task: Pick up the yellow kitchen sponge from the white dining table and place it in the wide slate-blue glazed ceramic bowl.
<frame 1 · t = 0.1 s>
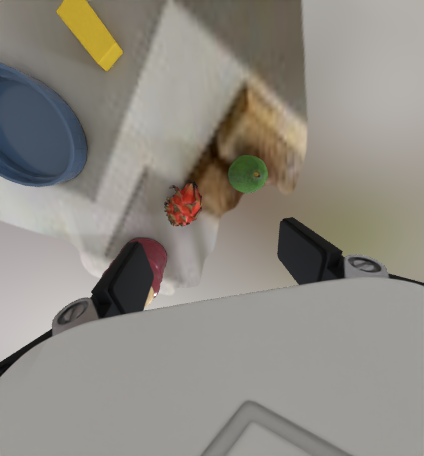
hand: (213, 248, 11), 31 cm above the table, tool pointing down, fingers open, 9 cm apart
avocado: (240, 171, 39), on the table
dragon fruit: (185, 199, 41), on the table
bowl: (35, 134, 32), on the table
kitchen canister: (145, 254, 47), on the table
sponge: (97, 39, 27), on the table
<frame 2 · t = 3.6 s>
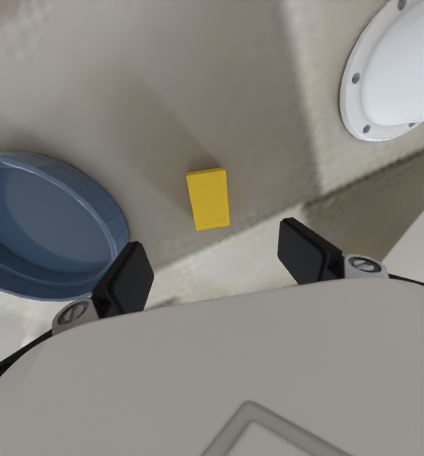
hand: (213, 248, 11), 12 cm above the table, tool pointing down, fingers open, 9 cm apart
bowl: (58, 227, 22), on the table
sponge: (208, 196, 21), on the table
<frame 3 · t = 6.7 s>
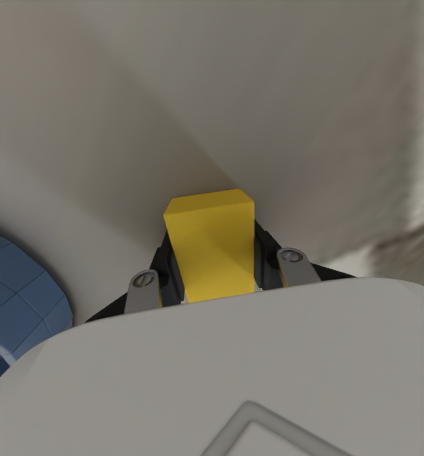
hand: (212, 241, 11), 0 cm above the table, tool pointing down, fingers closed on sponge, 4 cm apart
sponge: (212, 238, 12), on the table, touching gripper
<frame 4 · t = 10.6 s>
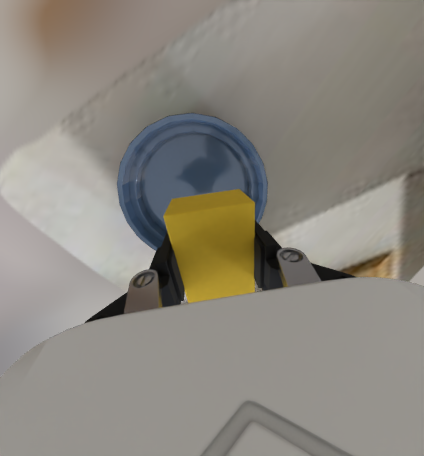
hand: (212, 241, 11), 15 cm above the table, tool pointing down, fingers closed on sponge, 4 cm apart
bowl: (196, 194, 24), on the table
sponge: (212, 239, 12), point 14 cm above the table, touching gripper
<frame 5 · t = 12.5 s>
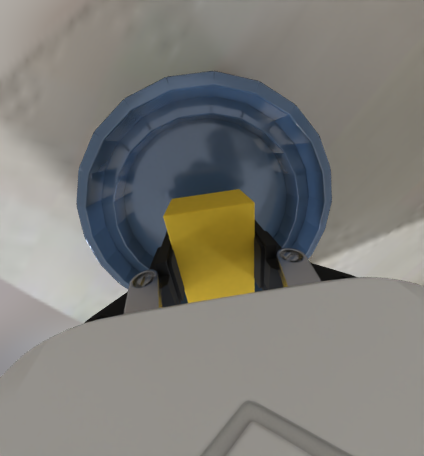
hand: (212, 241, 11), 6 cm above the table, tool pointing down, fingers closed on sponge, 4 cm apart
bowl: (208, 212, 16), on the table
sponge: (212, 239, 12), point 5 cm above the table, touching gripper
when the fingers open (1 cm above the table, at t = 14.4 s): sponge stays where it is, resting on bowl.
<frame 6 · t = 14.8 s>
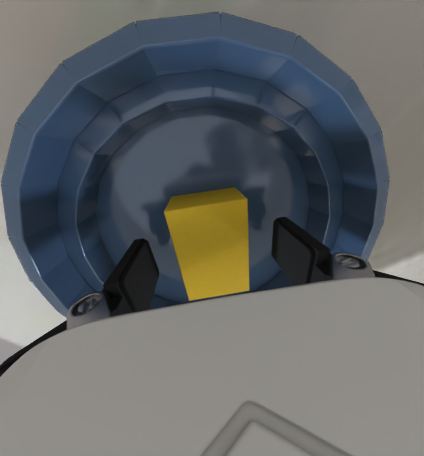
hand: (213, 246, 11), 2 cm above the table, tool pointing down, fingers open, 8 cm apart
bowl: (208, 231, 13), on the table
sponge: (209, 234, 12), resting on bowl
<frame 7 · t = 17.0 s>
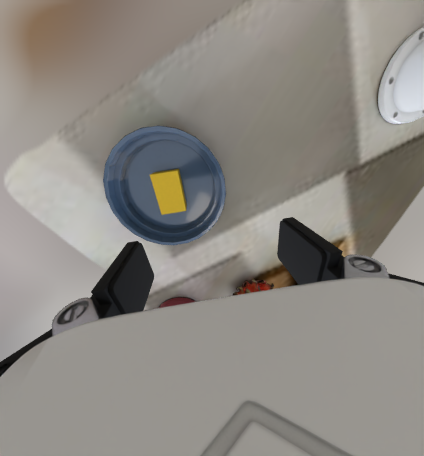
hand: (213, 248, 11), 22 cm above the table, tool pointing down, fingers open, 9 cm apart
dragon fruit: (248, 285, 43), on the table
bowl: (171, 189, 30), on the table
sponge: (171, 190, 29), resting on bowl
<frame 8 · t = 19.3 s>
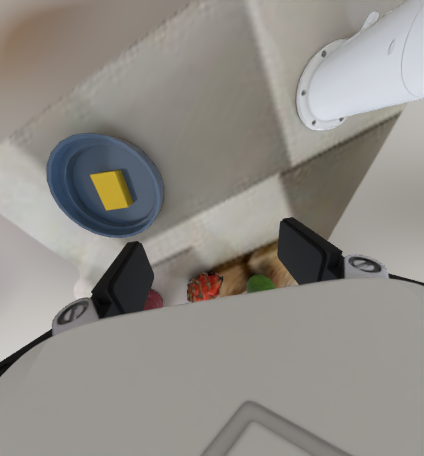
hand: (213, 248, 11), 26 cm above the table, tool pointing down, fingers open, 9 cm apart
avocado: (254, 277, 49), on the table
dragon fruit: (204, 277, 47), on the table
bowl: (117, 188, 33), on the table
sponge: (116, 188, 33), resting on bowl
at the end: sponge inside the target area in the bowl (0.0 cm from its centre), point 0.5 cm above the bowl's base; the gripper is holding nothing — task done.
